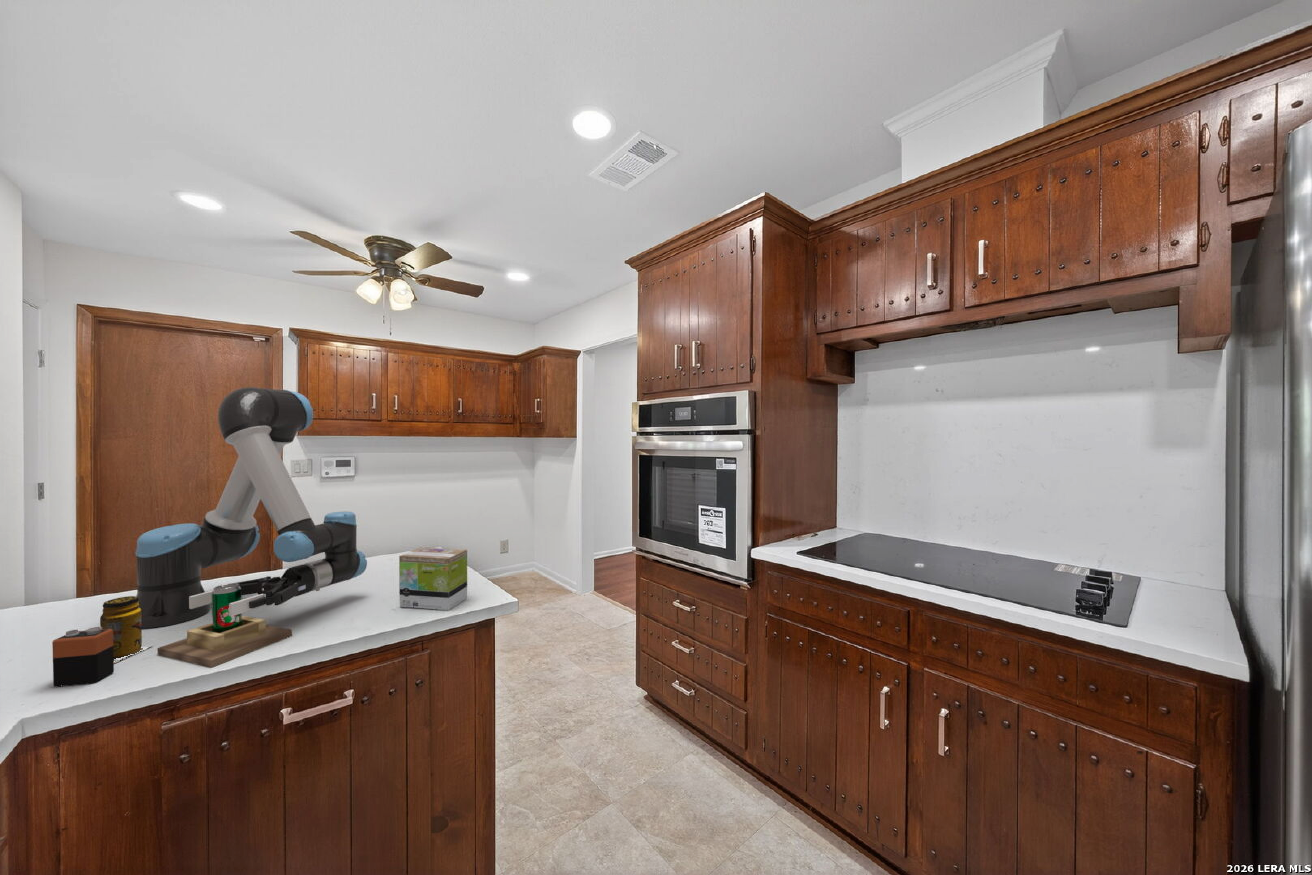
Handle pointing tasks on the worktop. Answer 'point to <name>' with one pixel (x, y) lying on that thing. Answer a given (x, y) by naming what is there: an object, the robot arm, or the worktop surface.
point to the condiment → (123, 625)
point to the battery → (83, 656)
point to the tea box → (433, 578)
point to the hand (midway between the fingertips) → (209, 606)
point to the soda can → (225, 607)
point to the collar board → (224, 642)
